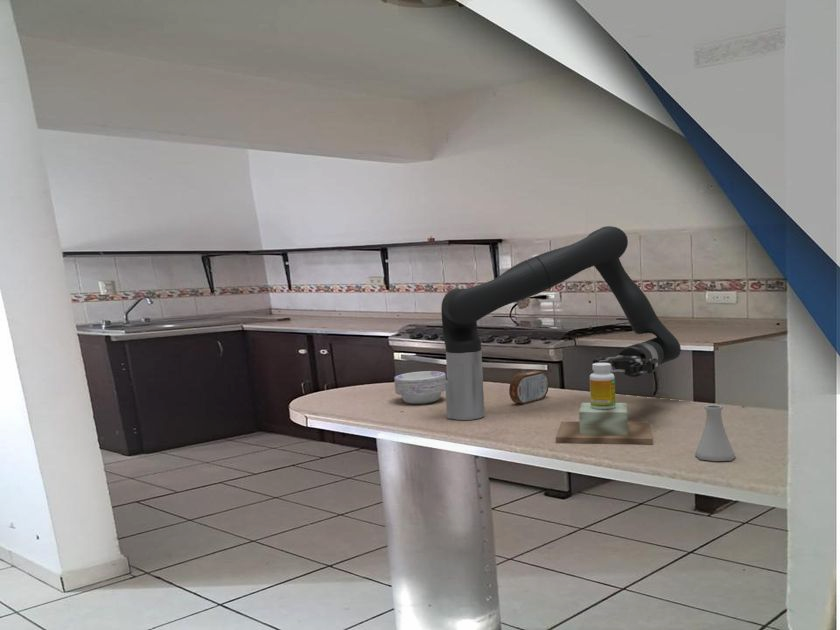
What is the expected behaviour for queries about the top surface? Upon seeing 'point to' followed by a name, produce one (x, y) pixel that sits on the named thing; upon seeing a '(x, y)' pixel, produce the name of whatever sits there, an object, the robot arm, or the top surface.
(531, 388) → the tin
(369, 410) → the top surface
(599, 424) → the pedestal
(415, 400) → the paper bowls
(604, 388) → the supplement bottle
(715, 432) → the flask
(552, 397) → the top surface
